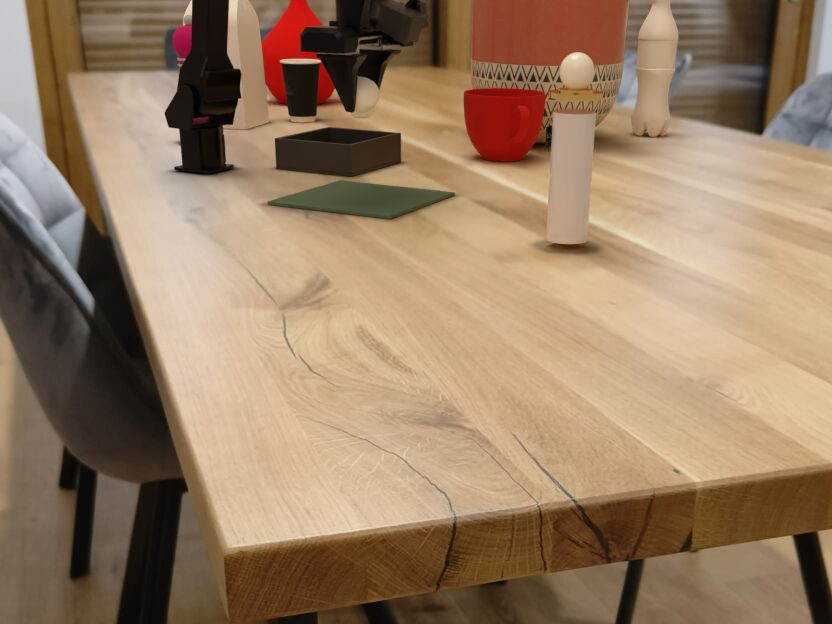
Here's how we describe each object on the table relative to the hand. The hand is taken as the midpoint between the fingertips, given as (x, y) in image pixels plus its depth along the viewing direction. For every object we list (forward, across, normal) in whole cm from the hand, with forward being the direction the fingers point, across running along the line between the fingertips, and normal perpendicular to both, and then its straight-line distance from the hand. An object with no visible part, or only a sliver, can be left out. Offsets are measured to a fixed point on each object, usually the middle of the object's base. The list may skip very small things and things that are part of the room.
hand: (360, 110), depth 143 cm
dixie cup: (+11, +63, +50) cm, 81 cm away
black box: (+11, +21, +16) cm, 28 cm away
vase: (+11, +89, +67) cm, 112 cm away
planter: (+11, +62, -1) cm, 63 cm away
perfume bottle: (+11, -14, -34) cm, 38 cm away
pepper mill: (+11, +29, +49) cm, 58 cm away
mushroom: (+1, 0, 0) cm, 1 cm away
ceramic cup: (+11, +38, -4) cm, 40 cm away
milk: (+11, +51, +59) cm, 78 cm away
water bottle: (+11, +80, -15) cm, 82 cm away
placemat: (+11, -2, -1) cm, 11 cm away
